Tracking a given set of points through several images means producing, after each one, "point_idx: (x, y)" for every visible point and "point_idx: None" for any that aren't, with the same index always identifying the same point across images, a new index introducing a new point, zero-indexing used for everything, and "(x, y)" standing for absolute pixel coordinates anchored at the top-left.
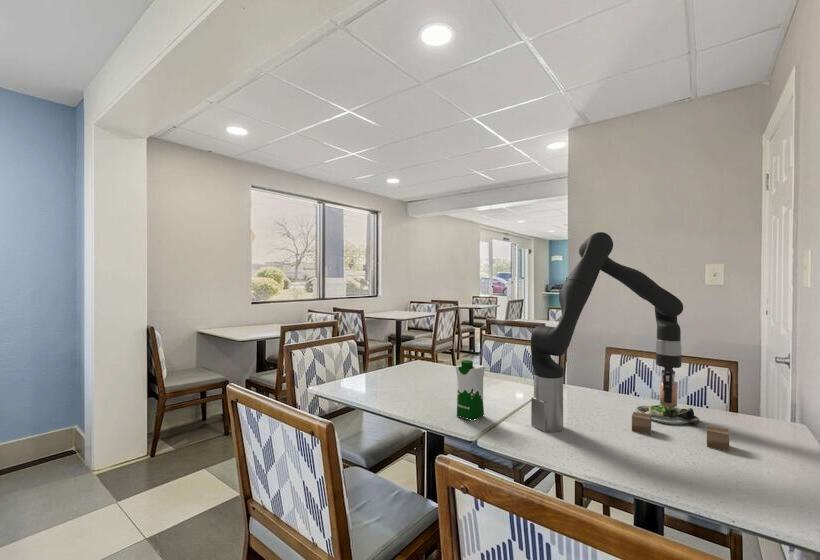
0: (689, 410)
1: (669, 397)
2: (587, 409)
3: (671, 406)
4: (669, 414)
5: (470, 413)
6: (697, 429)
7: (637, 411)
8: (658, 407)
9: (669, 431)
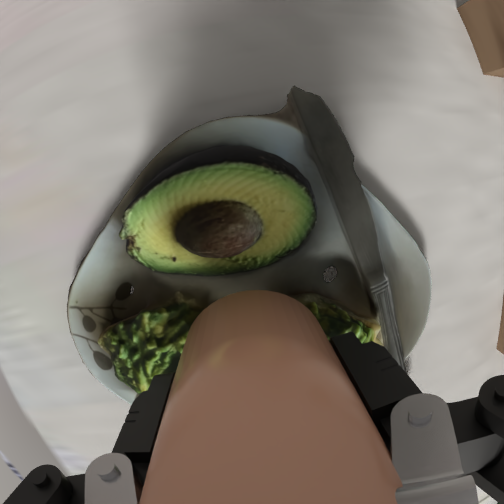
0: (276, 167)
1: (399, 372)
2: None
3: (315, 318)
4: (309, 300)
5: None
6: (370, 108)
7: None
8: None
9: (488, 224)
